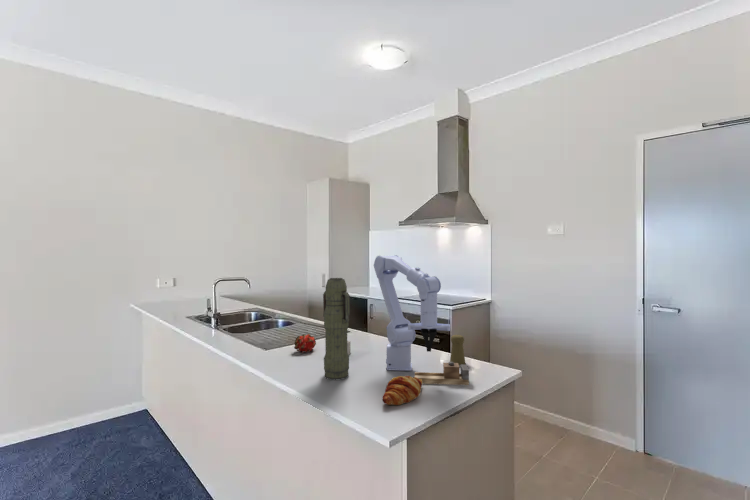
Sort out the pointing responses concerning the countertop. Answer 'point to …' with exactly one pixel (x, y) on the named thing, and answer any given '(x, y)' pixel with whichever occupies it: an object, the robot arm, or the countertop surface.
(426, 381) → the rail
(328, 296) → the thermos
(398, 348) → the robot arm
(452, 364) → the carriage
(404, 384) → the croissant
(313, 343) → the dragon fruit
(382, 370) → the countertop surface
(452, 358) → the cork
